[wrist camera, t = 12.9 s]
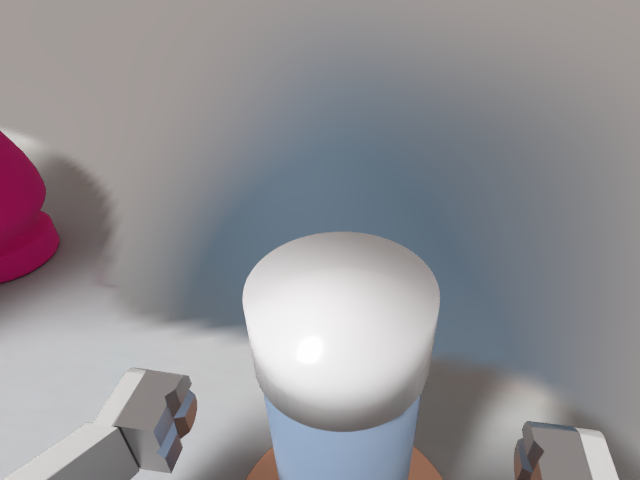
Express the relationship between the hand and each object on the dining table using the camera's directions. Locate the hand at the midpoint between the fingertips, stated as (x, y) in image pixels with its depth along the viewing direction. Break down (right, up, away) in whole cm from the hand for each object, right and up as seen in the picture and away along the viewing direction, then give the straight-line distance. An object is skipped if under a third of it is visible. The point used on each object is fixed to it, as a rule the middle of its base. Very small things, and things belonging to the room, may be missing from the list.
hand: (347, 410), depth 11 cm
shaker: (0, -6, +5) cm, 7 cm away
